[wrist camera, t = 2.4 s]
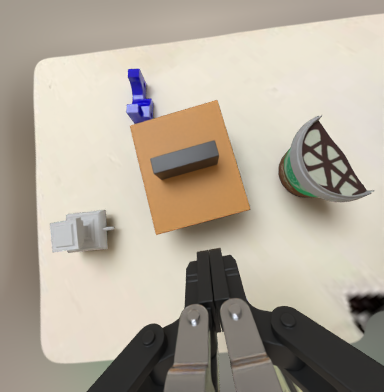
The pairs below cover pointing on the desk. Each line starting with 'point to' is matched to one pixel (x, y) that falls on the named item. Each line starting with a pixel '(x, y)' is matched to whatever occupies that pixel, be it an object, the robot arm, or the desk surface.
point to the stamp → (80, 232)
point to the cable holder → (139, 98)
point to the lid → (188, 168)
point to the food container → (319, 167)
